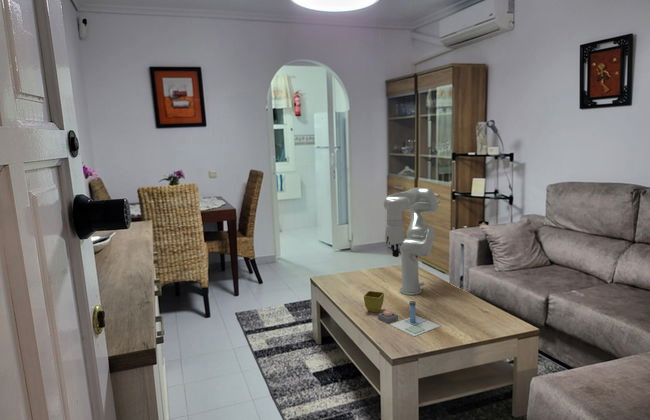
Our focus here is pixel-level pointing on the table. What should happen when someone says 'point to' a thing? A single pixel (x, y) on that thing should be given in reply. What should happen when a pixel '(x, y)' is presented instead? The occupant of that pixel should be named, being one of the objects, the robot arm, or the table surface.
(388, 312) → the button
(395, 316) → the button collar
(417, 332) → the sheet
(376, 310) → the flower pot
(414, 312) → the cylinder
